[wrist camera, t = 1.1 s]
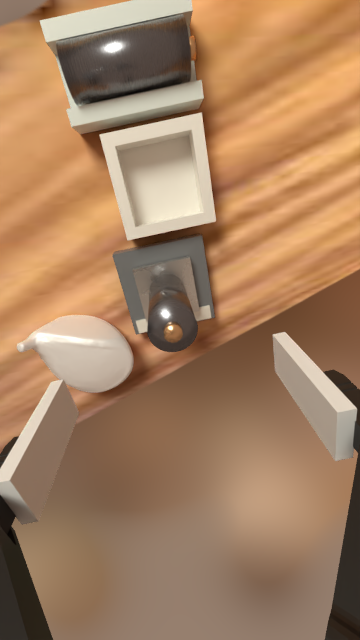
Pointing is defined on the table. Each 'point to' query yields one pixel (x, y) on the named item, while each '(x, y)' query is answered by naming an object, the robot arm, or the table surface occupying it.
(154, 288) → the cell
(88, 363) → the white rounded lump
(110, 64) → the cell
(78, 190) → the table surface
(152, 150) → the white square tray
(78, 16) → the trough
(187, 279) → the plate
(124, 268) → the grey square base pad
